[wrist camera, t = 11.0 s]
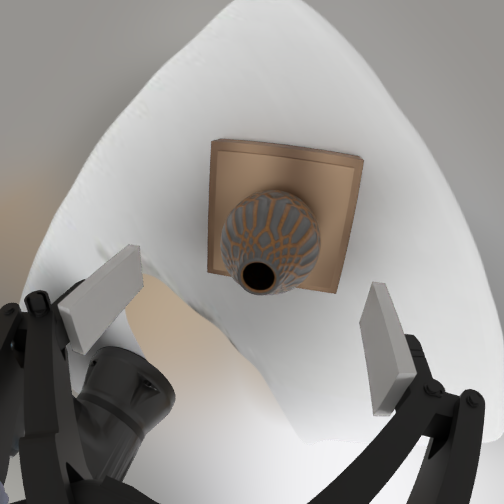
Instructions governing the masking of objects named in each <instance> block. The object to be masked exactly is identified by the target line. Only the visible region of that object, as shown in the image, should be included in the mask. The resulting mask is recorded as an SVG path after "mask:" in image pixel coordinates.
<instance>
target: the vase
mask: <svg viewBox="0 0 504 504" xmlns="http://www.w3.org/2000/svg"><path fill="white" fill-rule="evenodd" d="M220 247H221V255H222V259H223V262H224V265H225V267H226V269H227V271H228V272H229V274H230V275H231V276H232V278H233V279H234V280H235V281H236V282H237V283H238V284H240V285H241V286H242V287H243V288H244V289H245V290H246V291H247V292H249V293H251V294H254V295H273V294H280V293H284V292H287V291H289V290H291V289H293V288H295V287H296V286H298V285H299V284H301V283H302V282H303V281H304V280H305V279H306V278H307V277H308V275H309V274H310V273H311V271H312V270H313V268H314V266H315V264H316V262H317V260H318V257H319V253H320V247H321V236H320V229H319V225H318V222H317V220H316V217H315V215H314V214H313V212H312V211H311V209H310V208H309V207H308V206H307V205H306V204H305V203H304V202H303V201H302V200H301V199H299V198H298V197H296V196H294V195H292V194H290V193H287V192H284V191H279V190H266V191H260V192H257V193H254V194H252V195H250V196H248V197H246V198H245V199H243V200H242V201H241V202H239V203H238V204H237V205H236V206H235V207H234V209H233V210H232V211H231V212H230V214H229V215H228V217H227V219H226V221H225V223H224V226H223V229H222V233H221V243H220Z"/></svg>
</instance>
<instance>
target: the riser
mask: <svg viewBox="0 0 504 504" xmlns="http://www.w3.org/2000/svg"><path fill="white" fill-rule="evenodd" d="M363 163H364V160H363V159H361V158H360V157H359V156H354V155H349V154H343V153H338V152H332V151H325V150H319V149H312V148H305V147H298V146H290V145H282V144H274V143H265V142H255V141H244V140H231V139H218V140H214V141H211V159H210V182H209V211H208V261H207V272H208V273H213V274H219V275H224V276H230V277H232V276H231V275H230V274H229V272H228V271H227V269H226V267H225V265H224V262H223V259H222V255H221V247H220V243H221V233H222V229H223V226H224V223H225V221H226V219H227V217H228V215H229V214H230V212H231V211H232V210H233V209H234V207H235V206H236V205H237V204H238V203H239V202H241V201H242V200H243V199H245V198H246V197H248V196H250V195H252V194H254V193H257V192H260V191H266V190H279V191H284V192H287V193H290V194H292V195H294V196H296V197H298V198H299V199H301V200H302V201H303V202H304V203H305V204H306V205H307V206H308V207H309V208H310V209H311V211H312V212H313V214H314V215H315V217H316V220H317V222H318V225H319V229H320V236H321V247H320V253H319V257H318V260H317V262H316V264H315V266H314V268H313V270H312V271H311V273H310V274H309V275H308V277H307V278H306V279H305V280H304V281H303V282H302V283H301V284H299V285H298V286H296V288H302V289H308V290H315V291H321V292H328V293H334V294H336V292H337V288H338V284H339V280H340V276H341V272H342V268H343V264H344V260H345V255H346V251H347V246H348V242H349V237H350V233H351V228H352V223H353V218H354V213H355V208H356V203H357V198H358V192H359V187H360V181H361V175H362V169H363Z"/></svg>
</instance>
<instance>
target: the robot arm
mask: <svg viewBox="0 0 504 504" xmlns="http://www.w3.org/2000/svg"><path fill="white" fill-rule="evenodd" d="M142 288H143V277H142V266H141V256H140V246H136V245H130V244H129V245H127V246H126V247H125V248H124V249H122V250H121V251H120V252H119V253H117V254H116V255H115V256H114V257H112V258H111V259H110V260H109V261H107V262H106V263H105V264H104V265H103V266H101V267H100V268H99V269H98V270H97V271H95V272H94V273H93V274H92V275H91V276H89V277H88V278H87V279H83V280H81V281H79V282H77V283H75V284H74V285H73V286H72V287H71V288H70V289H68V290H67V291H66V292H65V293H64V294H63V295H62V296H60V297H59V298H58V299H57V300H56V301H55V302H54V303H52V304H51V302H50V299H49V296H48V293H47V292H46V291H42V290H38V291H34V292H32V293H30V294H28V295H27V296H26V297H25V299H24V302H25V305H26V307H27V310H28V312H21V309H20V307H19V305H18V304H17V303H8V304H6V305H4V306H3V307H2V308H1V309H0V504H7V503H8V501H9V497H8V495H7V494H6V493H5V490H4V487H3V486H4V483H5V479H6V476H7V471H8V465H9V459H10V458H12V457H14V456H15V455H16V454H17V453H18V452H19V455H20V464H21V472H22V479H23V486H24V491H25V497H26V499H25V500H21V501H18V502H14V503H10V504H159V503H157V502H155V501H154V500H152V499H150V498H149V497H147V496H146V495H144V494H143V493H141V492H139V491H138V490H137V489H135V488H134V487H132V486H130V485H127V484H125V483H123V482H122V481H123V479H124V477H125V475H126V473H127V471H128V469H129V467H130V465H131V463H132V461H133V459H134V457H135V455H136V453H137V451H138V449H139V447H140V445H141V443H142V441H143V439H144V437H145V435H146V434H147V433H148V432H149V431H150V430H151V429H152V428H154V427H155V426H156V425H157V424H158V423H159V422H160V421H161V420H162V419H163V418H165V417H166V416H167V415H168V414H169V412H170V411H171V409H172V406H173V404H174V402H175V393H174V390H173V388H172V386H171V384H170V383H169V381H168V380H167V379H166V378H165V376H164V375H163V374H162V373H161V372H160V371H159V370H158V369H157V368H155V367H154V366H153V365H151V364H150V363H149V362H148V361H146V360H145V359H143V358H141V357H140V356H138V355H136V354H134V353H132V352H129V351H127V350H124V349H121V348H117V347H104V348H102V349H100V350H99V351H98V352H97V353H96V354H95V356H94V357H93V358H92V360H91V361H90V364H89V367H88V371H87V374H86V377H85V381H84V384H83V388H82V391H81V393H80V394H79V395H78V397H77V398H75V397H74V396H73V395H72V391H71V383H70V374H69V364H68V353H67V349H66V345H67V344H68V343H69V342H70V344H71V347H72V350H73V351H75V352H77V353H79V354H82V355H84V356H85V354H86V353H87V352H88V351H89V350H90V348H91V347H92V346H93V345H94V343H95V342H96V341H97V340H98V339H99V337H100V336H101V335H102V334H103V333H104V331H105V330H106V329H107V328H108V327H109V326H110V324H111V323H112V322H113V321H114V320H115V319H116V317H117V316H118V315H119V314H120V313H121V312H122V310H123V309H124V308H125V307H126V306H127V305H128V304H129V302H130V301H131V300H132V299H133V298H134V296H135V295H136V294H137V293H138V292H139V291H140V290H141V289H142ZM359 324H360V329H361V335H362V340H363V346H364V352H365V358H366V365H367V371H368V378H369V385H370V393H371V400H372V409H373V416H390V415H391V413H392V412H393V411H394V409H395V410H396V414H395V415H394V416H393V417H392V419H391V420H390V421H389V422H388V423H387V425H386V426H385V427H384V428H383V429H382V430H381V432H380V433H379V434H378V435H377V436H376V437H375V439H374V440H373V441H372V442H371V443H370V444H369V445H368V446H367V447H366V448H365V450H364V451H363V452H362V453H361V454H360V455H359V456H358V457H357V458H356V459H355V460H354V461H353V462H352V463H351V464H350V465H349V466H348V467H347V468H346V469H345V470H344V471H343V472H342V473H341V474H340V475H339V476H338V477H337V478H336V479H335V480H334V481H332V482H331V483H330V484H329V485H328V486H327V487H326V488H325V489H324V490H323V491H321V492H320V493H319V494H318V495H317V496H316V497H314V498H313V499H312V500H311V501H310V502H309V503H307V504H369V503H370V502H371V501H372V499H373V498H374V497H375V496H376V495H377V494H378V493H379V491H380V490H381V489H382V488H383V487H384V485H385V484H386V483H387V482H388V481H389V479H390V478H391V477H392V476H393V474H394V473H395V471H397V469H398V468H399V467H400V465H401V464H402V463H403V461H404V460H405V459H406V457H407V456H408V454H409V453H410V452H411V450H412V449H413V447H414V446H415V444H416V443H417V441H418V440H419V438H420V437H421V435H424V436H428V437H430V440H429V443H428V446H427V450H426V453H425V456H424V459H423V462H422V465H421V468H420V471H419V473H418V476H417V479H416V481H415V484H414V486H413V489H412V491H411V494H410V496H409V499H408V501H407V503H406V504H469V502H470V498H471V494H472V490H473V485H474V481H475V477H476V472H477V467H478V461H479V456H480V449H481V442H482V435H483V426H484V415H485V400H484V398H483V396H482V395H481V394H480V393H479V392H477V391H475V390H472V389H468V390H465V391H464V392H462V394H461V395H460V396H457V395H453V394H450V393H447V392H445V388H444V387H443V385H442V384H441V383H440V382H439V381H437V380H435V379H433V378H432V375H431V372H430V369H429V366H428V363H427V360H426V358H425V355H424V352H423V349H422V347H421V344H420V342H419V341H418V340H417V338H416V337H415V336H414V335H409V334H404V332H403V329H402V326H401V323H400V321H399V318H398V315H397V312H396V310H395V307H394V304H393V302H392V299H391V297H390V294H389V291H388V289H387V286H386V284H385V283H378V282H372V285H371V288H370V291H369V294H368V298H367V301H366V304H365V307H364V310H363V313H362V316H361V319H360V322H359Z"/></svg>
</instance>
